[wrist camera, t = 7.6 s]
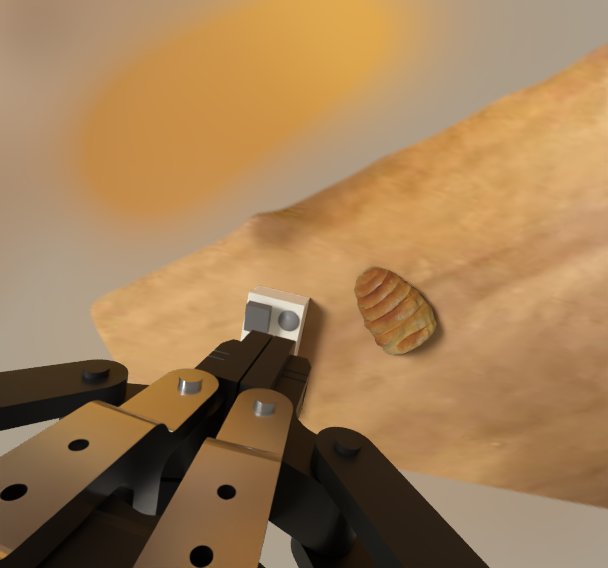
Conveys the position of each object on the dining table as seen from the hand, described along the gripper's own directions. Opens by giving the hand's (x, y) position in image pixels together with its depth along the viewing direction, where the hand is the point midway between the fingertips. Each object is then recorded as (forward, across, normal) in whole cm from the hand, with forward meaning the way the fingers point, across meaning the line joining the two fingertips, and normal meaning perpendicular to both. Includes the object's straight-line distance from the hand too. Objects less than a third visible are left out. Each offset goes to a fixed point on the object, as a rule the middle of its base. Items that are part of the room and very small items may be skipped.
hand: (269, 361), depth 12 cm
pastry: (+30, -7, +5) cm, 31 cm away
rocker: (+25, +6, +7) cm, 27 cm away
